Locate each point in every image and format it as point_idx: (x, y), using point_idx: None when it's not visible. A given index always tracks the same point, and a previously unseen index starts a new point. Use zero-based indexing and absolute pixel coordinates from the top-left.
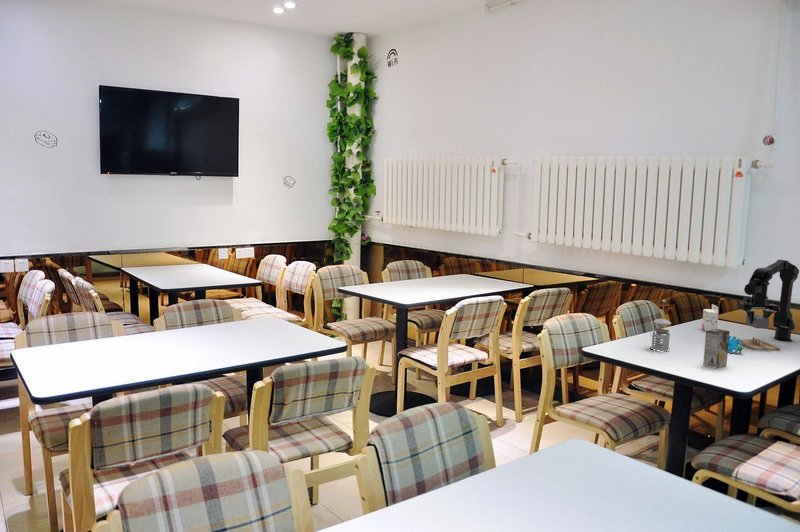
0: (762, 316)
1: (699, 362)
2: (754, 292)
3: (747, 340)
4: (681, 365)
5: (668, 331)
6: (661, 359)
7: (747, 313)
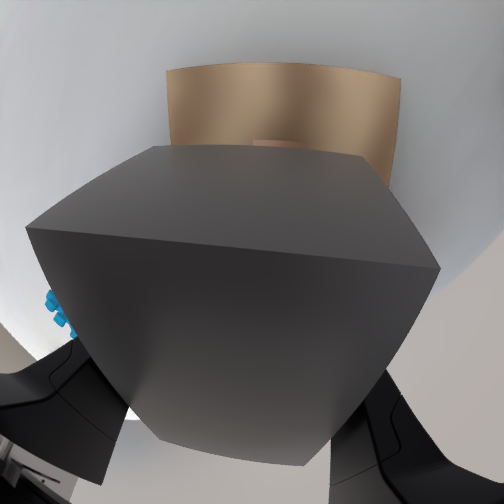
0: (340, 420)
1: (49, 342)
2: None
3: (267, 104)
4: (34, 343)
5: None
6: (7, 312)
7: (30, 378)
